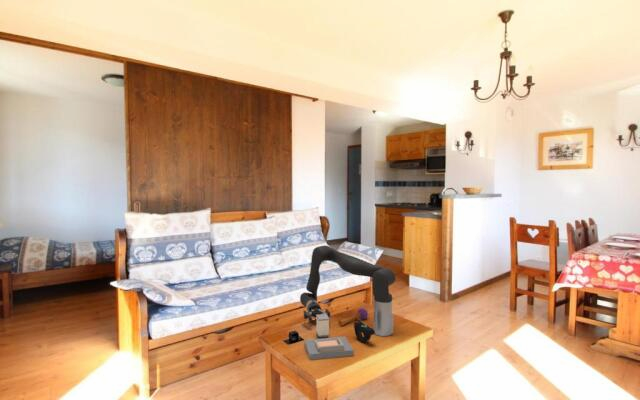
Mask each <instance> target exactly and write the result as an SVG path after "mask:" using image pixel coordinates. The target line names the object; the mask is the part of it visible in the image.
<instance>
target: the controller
mask: <svg viewBox="0 0 640 400" xmlns="http://www.w3.org/2000/svg"><path fill="white" fill-rule="evenodd" d="M356 320H357V321H355V322H353V328H354V333H355V336H356V338H357V340H358V341H360V342H362V343H366V342H368V341H370V340H371V338H372V336H373V335H374V334H375V331H374V328H373V327H370V326H369V325H367V324H365V323H364V322H362V319H356Z"/></svg>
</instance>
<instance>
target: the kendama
mask: <svg viewBox="0 0 640 400" xmlns="http://www.w3.org/2000/svg"><path fill="white" fill-rule="evenodd" d="M368 314H369V313H368V311H367V310H366V308H363V307H362V308H359V309H358V310H357V311H356V312H355V313H354V315H353V316H351V317H346V318H344V319H338V322H337V324H338V326H340V327H343V326H345V325H346V324H348V323H349V322H352V320H357V319H361V320H366V319H367V318H368Z"/></svg>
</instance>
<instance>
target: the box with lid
mask: <svg viewBox="0 0 640 400" xmlns="http://www.w3.org/2000/svg"><path fill="white" fill-rule="evenodd" d="M329 325H330V317H328V316H327V314H319V315H316V328H315V329H316V331H315V332H316V337H318V339H322V338H329V336H330V328H329V327H330V326H329Z"/></svg>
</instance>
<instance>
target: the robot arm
mask: <svg viewBox="0 0 640 400" xmlns="http://www.w3.org/2000/svg"><path fill="white" fill-rule="evenodd" d="M311 253H312V254H311V261H310V271H309V275H308V280H307V284H306V288H305V289H306V291H308V292H306V291H305V292H302V293H301V294H300V297H299V300H300V303H301V305H303V306H304V307H306V310H303V319H304V320H308V322H312V321H313V318H314V319H315V318H316V319H317V317H316V315H319V314H327V316H328V317H329V318H331V312H330V311H329V309H328V308H327V309H325V310H323V309H322V307H321V306H320V304H319V302H318V289H319V285H320V282H321V274H320V267H321V264H323V262H326V261H327V262H331V263H335V264H337V265H338V266H339V267H340V269H342V270H343V271H344V272H346V273H349V274H351V275H354V276H361V277H369V278H372V280H371V282H372V284H371V287H372V295H373V329H374V331H375V333H374V334H375V335H377V336H380V337H388V336H391V335H393V334H394V315H393V295H392V293H390V289H389V286H391V285H393V284H394V283H395V281H396V278H397V277H396V274H395V272H394V271H393V270H392V269H390V268H388V267H384V266H380V265H376V264H373V263H371V262H368V261H366V260H364V259H360V258H358V257H355V256H353V255H350V254H347V253H344V252H341V251H338V250H336V249H334V248H333V247H331V246H329V245H320V246H317V247H315V248H314V249H313V250H312V252H311Z"/></svg>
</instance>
